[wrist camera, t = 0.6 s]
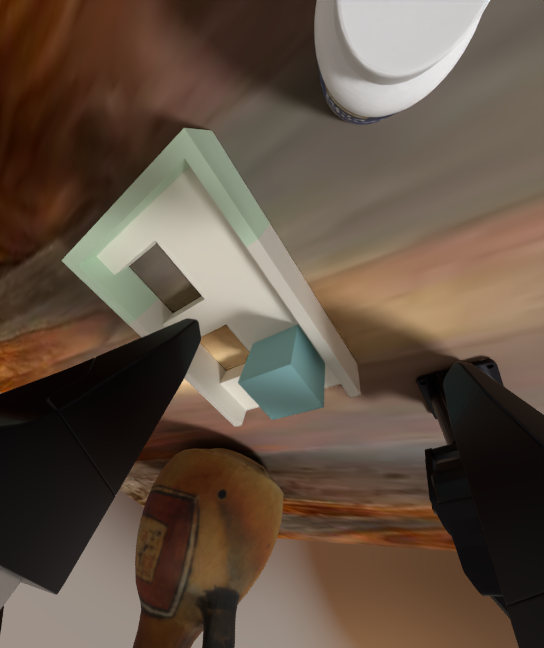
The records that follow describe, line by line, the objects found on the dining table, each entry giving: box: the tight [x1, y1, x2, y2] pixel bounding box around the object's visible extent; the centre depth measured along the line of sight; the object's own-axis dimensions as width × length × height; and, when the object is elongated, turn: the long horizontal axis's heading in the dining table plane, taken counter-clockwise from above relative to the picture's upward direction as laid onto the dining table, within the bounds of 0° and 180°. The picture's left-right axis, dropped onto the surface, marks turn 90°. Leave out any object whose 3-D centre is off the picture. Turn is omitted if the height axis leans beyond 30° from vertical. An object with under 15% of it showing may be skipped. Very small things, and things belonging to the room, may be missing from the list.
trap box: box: [62, 128, 361, 427], centre depth 23 cm, size 23×15×4 cm, turn 34°
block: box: [238, 325, 325, 420], centre depth 22 cm, size 5×5×5 cm
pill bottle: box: [314, 0, 490, 125], centre depth 10 cm, size 5×5×10 cm
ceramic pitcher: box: [133, 448, 283, 648], centre depth 32 cm, size 20×20×30 cm
